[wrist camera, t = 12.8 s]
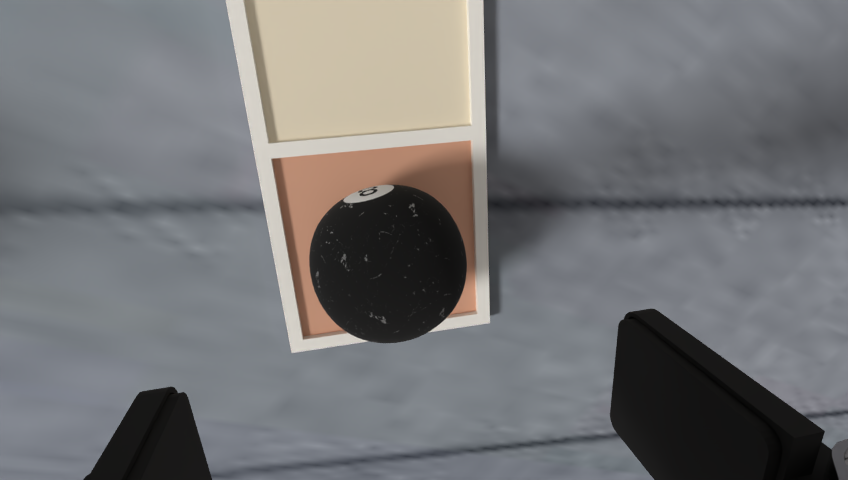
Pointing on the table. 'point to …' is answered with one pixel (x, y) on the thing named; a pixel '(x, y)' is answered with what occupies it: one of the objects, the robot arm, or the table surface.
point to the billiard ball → (388, 263)
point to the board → (363, 128)
